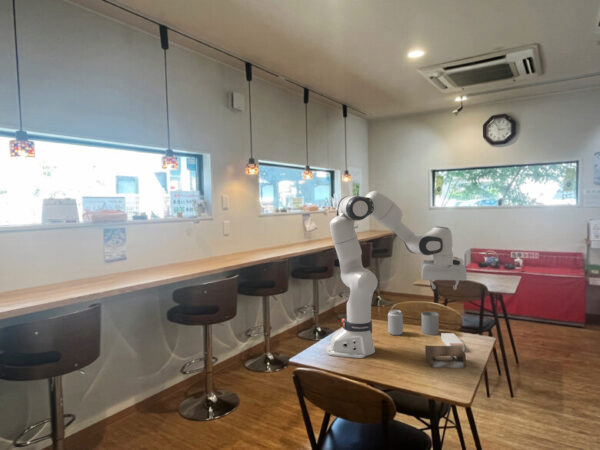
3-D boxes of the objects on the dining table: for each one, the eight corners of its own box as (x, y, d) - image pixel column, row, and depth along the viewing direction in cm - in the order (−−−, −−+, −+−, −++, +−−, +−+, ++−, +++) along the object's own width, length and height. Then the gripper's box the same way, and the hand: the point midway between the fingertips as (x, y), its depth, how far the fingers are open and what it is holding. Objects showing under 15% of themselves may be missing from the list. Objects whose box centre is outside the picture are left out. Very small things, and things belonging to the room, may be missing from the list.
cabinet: (430, 367, 156) (430, 354, 156) (425, 358, 166) (425, 345, 166) (466, 367, 155) (466, 354, 155) (458, 358, 164) (458, 346, 164)
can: (403, 336, 194) (403, 313, 193) (388, 335, 196) (388, 312, 195) (402, 331, 201) (402, 309, 201) (387, 331, 203) (387, 308, 202)
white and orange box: (450, 351, 172) (450, 344, 172) (441, 339, 188) (441, 333, 188) (464, 351, 172) (464, 344, 172) (453, 339, 188) (453, 333, 188)
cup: (424, 329, 204) (424, 310, 204) (440, 331, 200) (440, 312, 199) (419, 333, 198) (419, 314, 197) (435, 336, 193) (435, 316, 192)
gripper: (419, 261, 182) (420, 289, 183) (466, 261, 174) (467, 291, 175) (421, 259, 188) (422, 286, 189) (466, 259, 180) (467, 288, 181)
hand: (444, 289), depth 182 cm, fingers open, 8 cm apart
